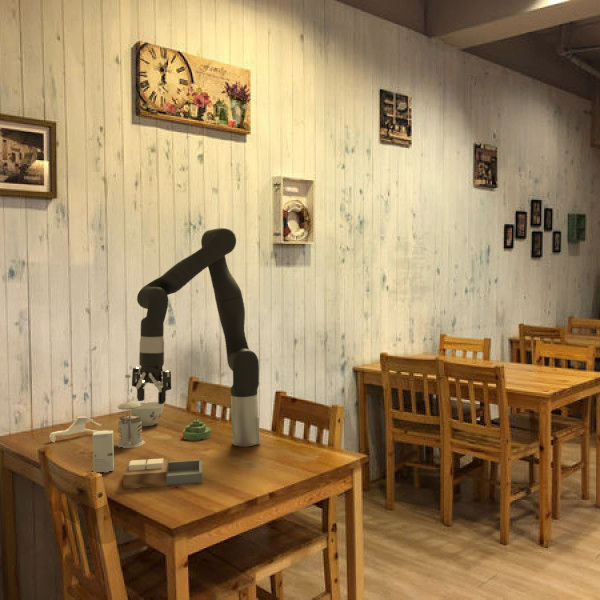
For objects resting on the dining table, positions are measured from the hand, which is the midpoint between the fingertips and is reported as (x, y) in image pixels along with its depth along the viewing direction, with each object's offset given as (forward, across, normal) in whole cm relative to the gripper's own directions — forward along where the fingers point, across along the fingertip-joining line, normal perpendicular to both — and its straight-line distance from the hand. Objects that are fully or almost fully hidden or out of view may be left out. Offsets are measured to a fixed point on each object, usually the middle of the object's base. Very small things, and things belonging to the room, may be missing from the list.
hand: (151, 402), depth 200 cm
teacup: (+19, +38, -39) cm, 58 cm away
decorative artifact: (+19, +8, -33) cm, 39 cm away
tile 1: (+17, -6, +12) cm, 21 cm away
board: (+20, -8, +10) cm, 24 cm away
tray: (+20, -17, +3) cm, 26 cm away
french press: (+20, +23, -15) cm, 34 cm away
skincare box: (+21, +10, +9) cm, 25 cm away
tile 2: (+16, -10, +9) cm, 21 cm away
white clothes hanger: (+21, +49, -14) cm, 55 cm away
